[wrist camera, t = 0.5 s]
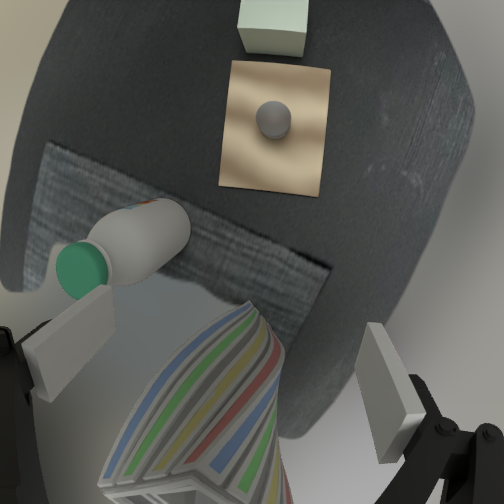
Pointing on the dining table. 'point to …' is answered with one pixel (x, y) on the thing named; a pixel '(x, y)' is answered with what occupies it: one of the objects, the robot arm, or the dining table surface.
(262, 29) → the pale green block
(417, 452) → the robot arm
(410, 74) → the dining table surface
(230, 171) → the post base
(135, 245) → the milk bottle
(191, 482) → the vase
